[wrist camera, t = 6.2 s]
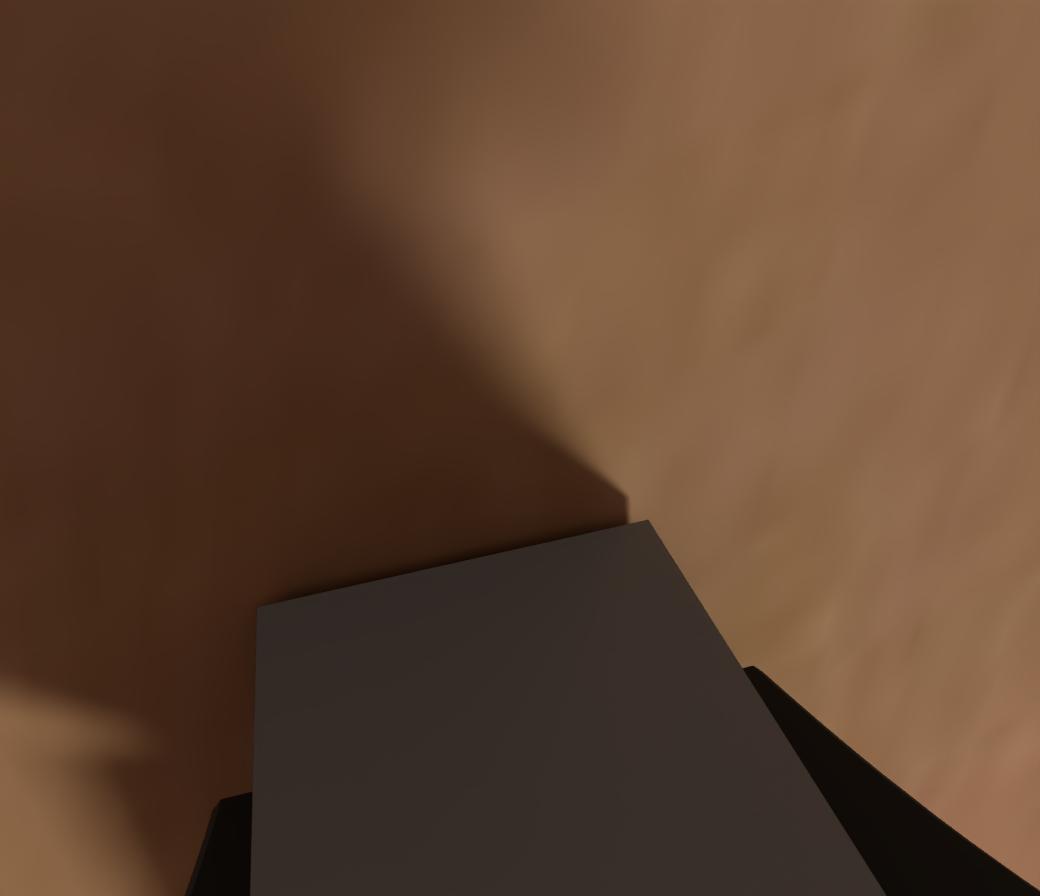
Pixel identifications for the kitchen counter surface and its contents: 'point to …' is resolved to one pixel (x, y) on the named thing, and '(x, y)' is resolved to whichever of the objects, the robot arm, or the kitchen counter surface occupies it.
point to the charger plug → (527, 739)
